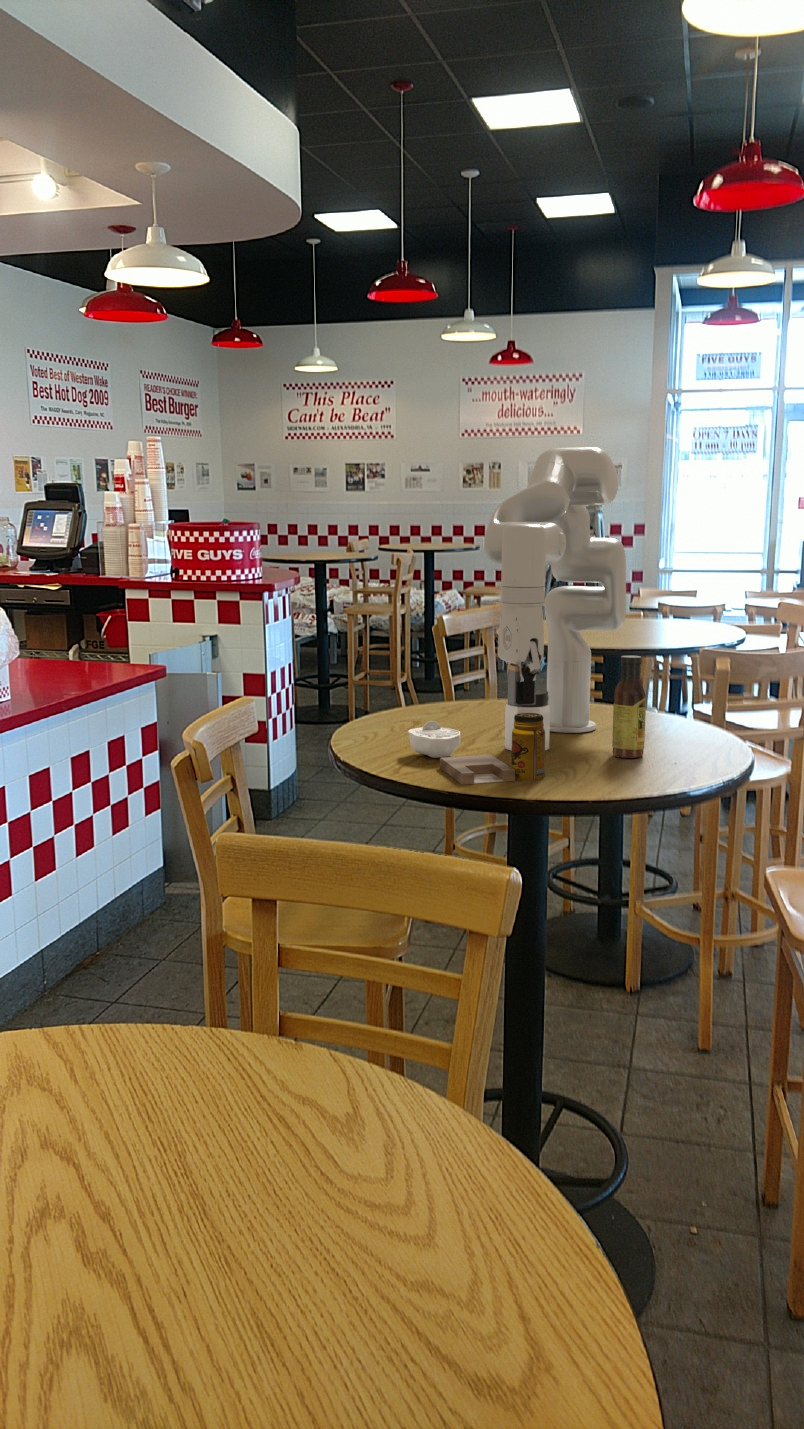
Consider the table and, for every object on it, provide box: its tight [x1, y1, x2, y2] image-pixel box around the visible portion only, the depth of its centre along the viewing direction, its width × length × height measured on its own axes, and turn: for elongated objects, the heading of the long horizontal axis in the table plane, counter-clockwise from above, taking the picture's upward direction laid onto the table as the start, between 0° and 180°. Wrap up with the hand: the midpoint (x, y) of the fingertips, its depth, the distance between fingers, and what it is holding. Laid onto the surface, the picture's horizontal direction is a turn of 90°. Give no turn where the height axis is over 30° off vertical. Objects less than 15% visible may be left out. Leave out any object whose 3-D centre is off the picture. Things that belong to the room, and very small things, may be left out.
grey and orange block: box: [507, 664, 537, 706], centre depth 186 cm, size 3×4×7 cm
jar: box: [504, 688, 550, 752], centre depth 216 cm, size 9×8×12 cm
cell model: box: [407, 720, 462, 759], centre depth 211 cm, size 10×12×7 cm
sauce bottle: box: [611, 655, 647, 759], centre depth 210 cm, size 7×6×20 cm
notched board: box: [439, 754, 516, 786], centre depth 196 cm, size 13×10×2 cm
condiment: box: [510, 713, 546, 782], centre depth 194 cm, size 7×8×12 cm
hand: (520, 701), depth 187 cm, fingers closed on grey and orange block, 3 cm apart
